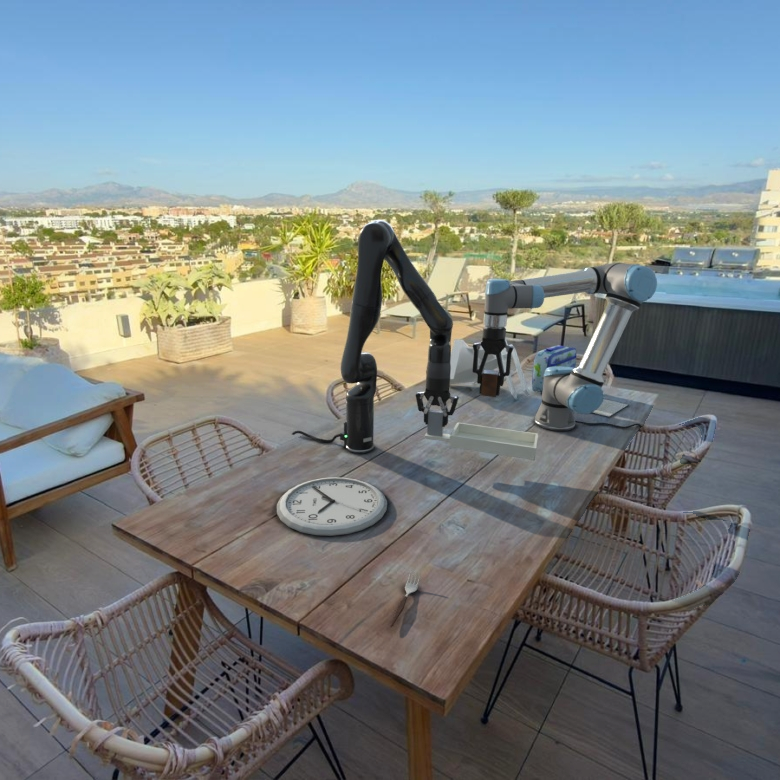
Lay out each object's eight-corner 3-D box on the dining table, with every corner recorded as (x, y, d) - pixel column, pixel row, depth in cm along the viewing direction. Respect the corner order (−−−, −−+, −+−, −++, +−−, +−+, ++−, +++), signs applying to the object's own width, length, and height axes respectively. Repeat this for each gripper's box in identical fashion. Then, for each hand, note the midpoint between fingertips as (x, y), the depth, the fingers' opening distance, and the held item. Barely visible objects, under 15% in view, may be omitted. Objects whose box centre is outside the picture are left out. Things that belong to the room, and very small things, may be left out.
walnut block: (497, 393, 181) (499, 370, 179) (495, 397, 177) (497, 374, 175) (483, 391, 183) (484, 369, 181) (480, 395, 178) (482, 373, 176)
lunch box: (548, 398, 236) (553, 353, 229) (527, 393, 243) (531, 349, 237) (575, 387, 253) (581, 344, 247) (555, 382, 260) (560, 341, 254)
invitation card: (608, 416, 214) (573, 407, 224) (608, 416, 214) (573, 408, 224) (628, 404, 229) (594, 396, 238) (628, 405, 229) (594, 397, 238)
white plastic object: (461, 429, 252) (437, 405, 227) (444, 352, 274) (420, 323, 250) (535, 404, 240) (518, 377, 215) (510, 326, 262) (492, 293, 237)
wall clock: (392, 527, 129) (268, 531, 127) (391, 533, 130) (269, 537, 127) (383, 473, 158) (282, 475, 155) (383, 478, 158) (282, 480, 156)
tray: (537, 445, 166) (540, 418, 164) (534, 460, 156) (538, 432, 153) (430, 429, 177) (431, 404, 174) (421, 442, 166) (422, 416, 163)
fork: (384, 627, 99) (384, 618, 99) (410, 577, 114) (410, 569, 113) (397, 631, 99) (397, 622, 98) (421, 580, 113) (421, 572, 112)
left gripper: (463, 374, 165) (459, 424, 170) (419, 369, 169) (417, 418, 174) (458, 380, 158) (454, 432, 163) (413, 375, 162) (410, 425, 168)
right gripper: (523, 326, 174) (517, 393, 181) (469, 323, 179) (465, 387, 186) (521, 330, 167) (514, 399, 174) (465, 326, 172) (461, 393, 179)
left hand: (435, 424), depth 169 cm, fingers closed on tray, 5 cm apart
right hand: (489, 393), depth 180 cm, fingers closed on walnut block, 5 cm apart
